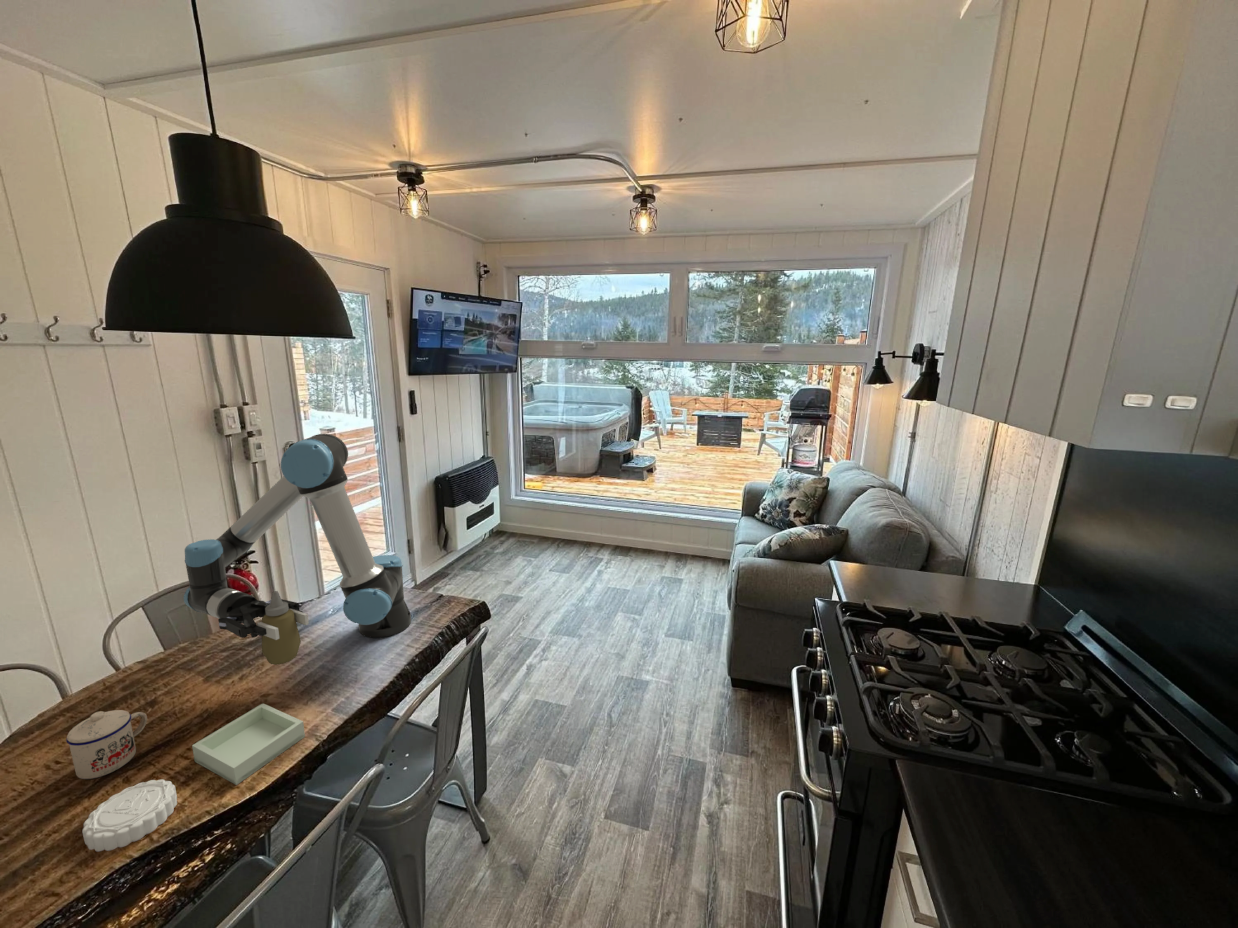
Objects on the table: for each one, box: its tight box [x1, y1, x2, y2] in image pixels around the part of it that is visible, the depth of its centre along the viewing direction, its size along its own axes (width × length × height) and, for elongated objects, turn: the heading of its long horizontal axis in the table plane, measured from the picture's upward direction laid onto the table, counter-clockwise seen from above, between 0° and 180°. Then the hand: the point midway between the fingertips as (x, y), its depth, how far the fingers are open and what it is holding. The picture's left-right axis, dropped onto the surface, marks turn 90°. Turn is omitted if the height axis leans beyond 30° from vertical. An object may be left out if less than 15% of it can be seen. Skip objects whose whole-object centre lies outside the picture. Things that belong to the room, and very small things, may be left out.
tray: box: [191, 703, 306, 786], centre depth 104 cm, size 14×14×4 cm
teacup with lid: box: [66, 709, 148, 780], centre depth 100 cm, size 12×9×12 cm
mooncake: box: [82, 778, 178, 852], centre depth 88 cm, size 12×12×4 cm
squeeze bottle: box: [261, 590, 301, 665], centre depth 118 cm, size 8×8×18 cm
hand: (292, 626), depth 116 cm, fingers closed on squeeze bottle, 6 cm apart
